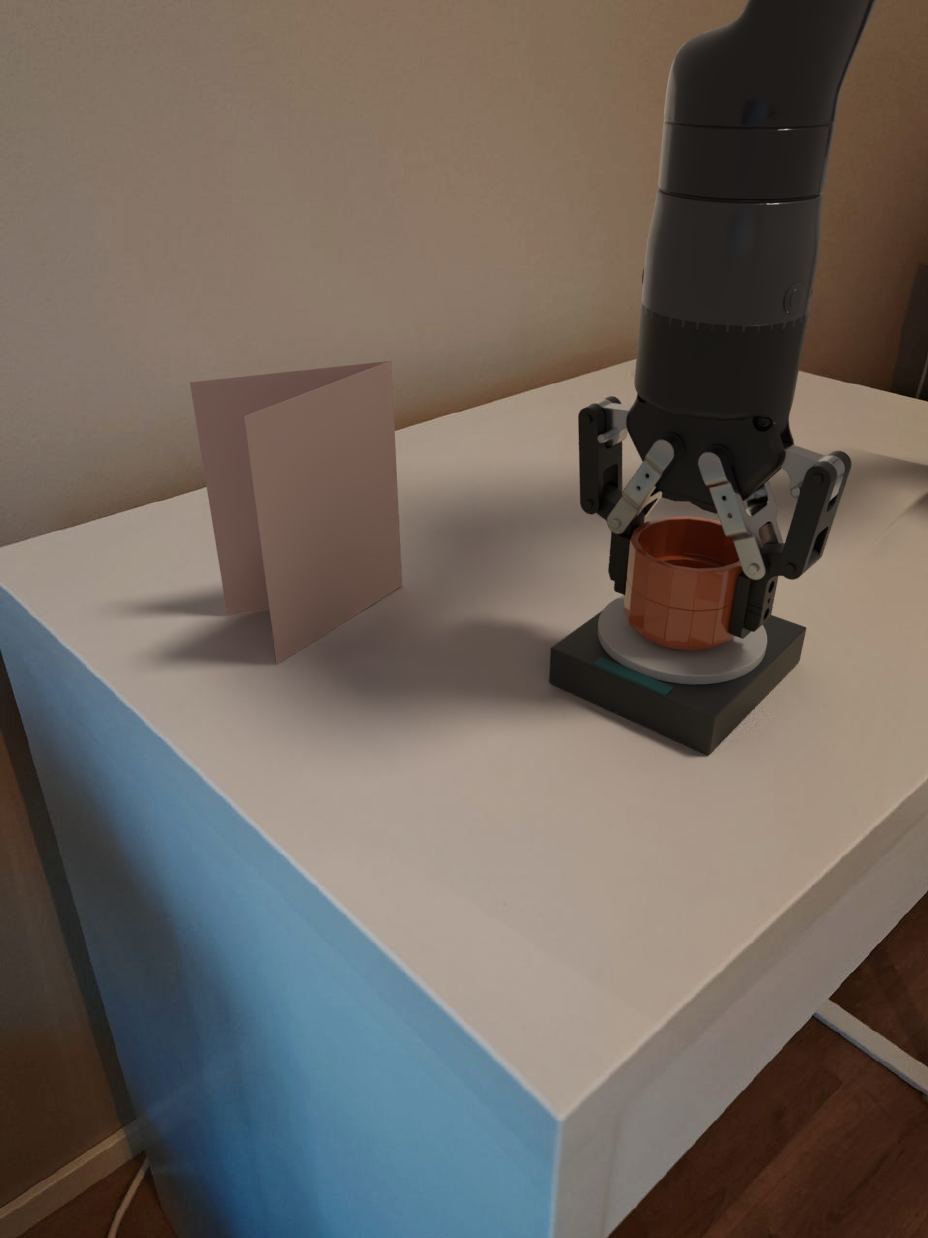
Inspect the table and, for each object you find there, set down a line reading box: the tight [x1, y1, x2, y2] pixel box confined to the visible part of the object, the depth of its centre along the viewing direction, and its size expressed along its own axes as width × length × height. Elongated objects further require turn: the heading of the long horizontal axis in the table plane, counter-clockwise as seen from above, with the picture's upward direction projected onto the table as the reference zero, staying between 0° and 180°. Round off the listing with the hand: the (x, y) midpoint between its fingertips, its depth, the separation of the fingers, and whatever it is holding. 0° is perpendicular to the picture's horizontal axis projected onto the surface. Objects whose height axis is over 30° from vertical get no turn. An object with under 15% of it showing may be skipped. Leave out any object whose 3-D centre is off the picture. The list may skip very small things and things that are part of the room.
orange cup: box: [624, 515, 743, 650], centre depth 52 cm, size 6×6×5 cm
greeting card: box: [189, 360, 403, 665], centre depth 56 cm, size 11×7×15 cm, turn 109°
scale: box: [548, 594, 807, 756], centre depth 54 cm, size 11×10×3 cm
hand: (683, 608), depth 53 cm, fingers closed on orange cup, 6 cm apart
